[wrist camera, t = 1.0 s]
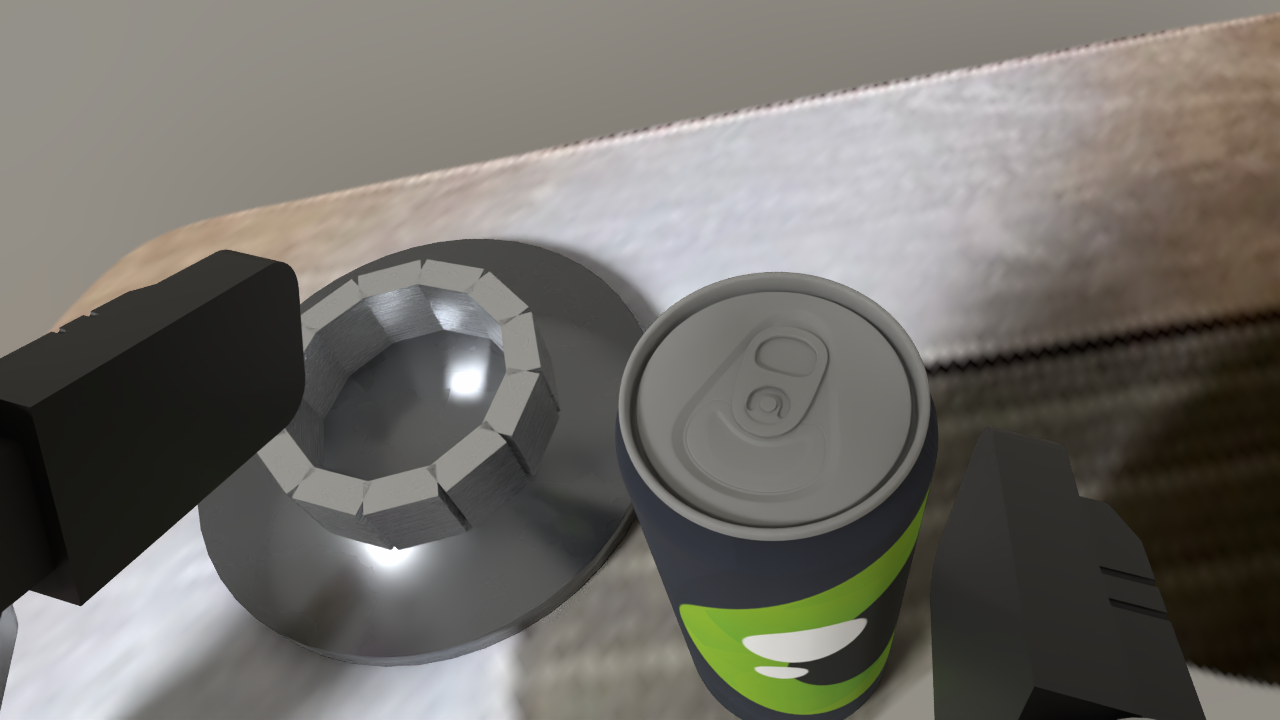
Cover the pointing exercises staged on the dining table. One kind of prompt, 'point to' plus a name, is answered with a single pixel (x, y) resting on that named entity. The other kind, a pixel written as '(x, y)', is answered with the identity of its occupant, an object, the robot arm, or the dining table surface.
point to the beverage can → (780, 485)
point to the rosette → (435, 457)
